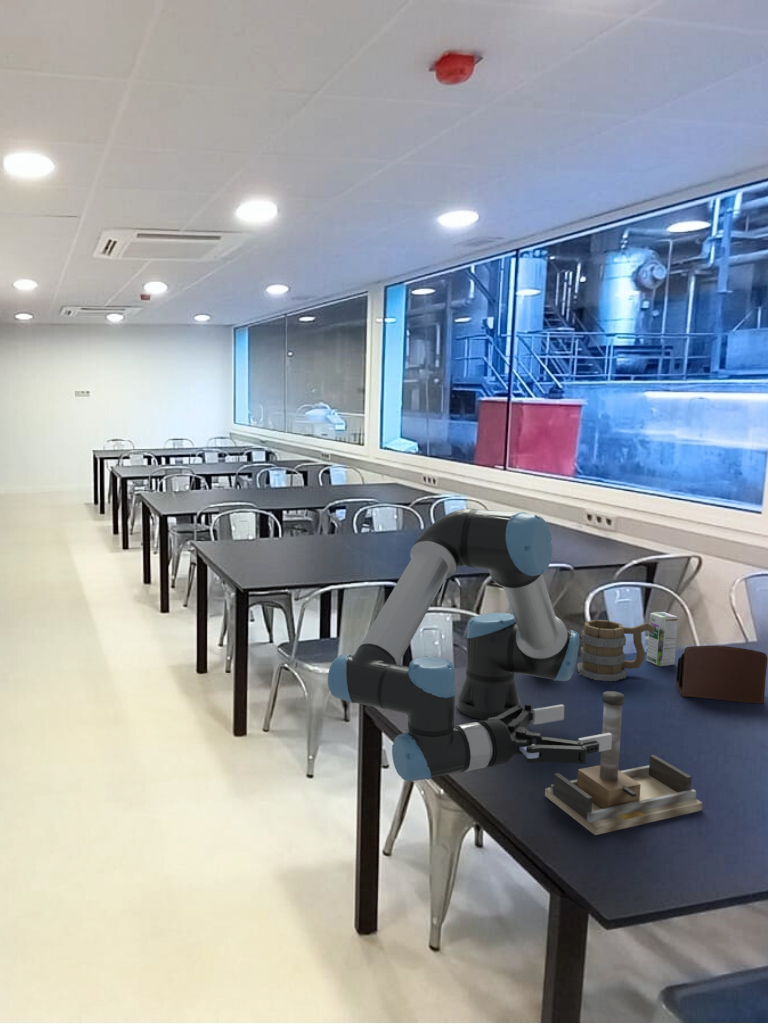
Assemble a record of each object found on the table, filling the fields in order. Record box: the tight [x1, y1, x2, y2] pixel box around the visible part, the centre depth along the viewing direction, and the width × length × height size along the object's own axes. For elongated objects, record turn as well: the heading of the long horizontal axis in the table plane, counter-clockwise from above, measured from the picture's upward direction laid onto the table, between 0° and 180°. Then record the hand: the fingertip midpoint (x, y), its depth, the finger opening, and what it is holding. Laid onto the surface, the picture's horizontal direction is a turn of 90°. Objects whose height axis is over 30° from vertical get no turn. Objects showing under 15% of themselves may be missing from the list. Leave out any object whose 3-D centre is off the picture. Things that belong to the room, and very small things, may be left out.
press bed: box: [544, 754, 703, 836], centre depth 150 cm, size 24×15×6 cm, turn 113°
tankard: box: [576, 619, 655, 682], centre depth 222 cm, size 20×13×15 cm, turn 82°
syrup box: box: [646, 611, 679, 667], centre depth 233 cm, size 6×6×14 cm
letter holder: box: [675, 645, 768, 705], centre depth 208 cm, size 10×20×14 cm, turn 78°
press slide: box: [576, 690, 641, 809], centre depth 146 cm, size 7×12×20 cm, turn 23°
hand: (585, 725), depth 144 cm, fingers open, 13 cm apart
